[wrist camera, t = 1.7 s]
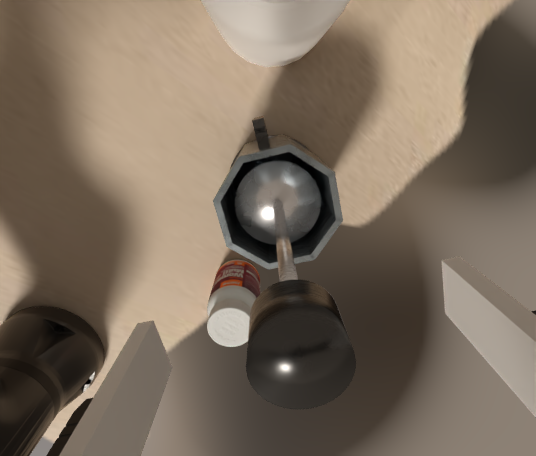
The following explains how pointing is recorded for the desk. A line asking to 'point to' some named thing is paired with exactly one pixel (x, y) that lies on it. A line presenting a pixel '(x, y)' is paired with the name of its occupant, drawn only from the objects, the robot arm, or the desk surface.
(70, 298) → the desk surface
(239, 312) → the pill bottle
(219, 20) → the can
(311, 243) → the grey octagonal container
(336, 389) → the plunger
